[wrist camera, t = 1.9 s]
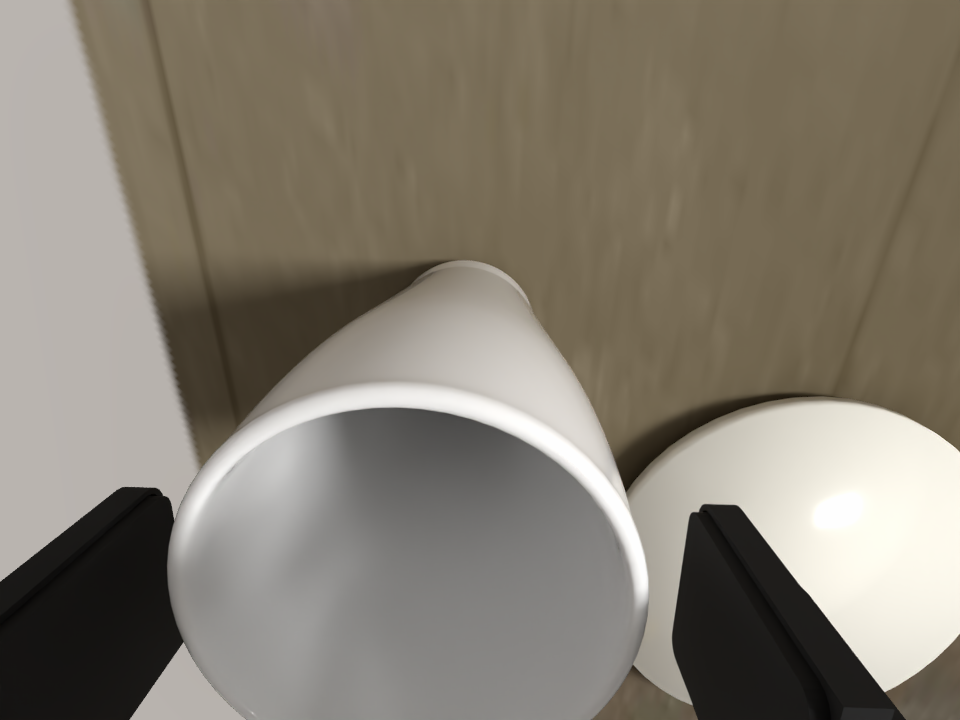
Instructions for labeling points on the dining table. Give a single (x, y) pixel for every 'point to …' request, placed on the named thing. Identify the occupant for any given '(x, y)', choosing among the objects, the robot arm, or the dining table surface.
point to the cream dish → (818, 524)
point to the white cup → (416, 526)
